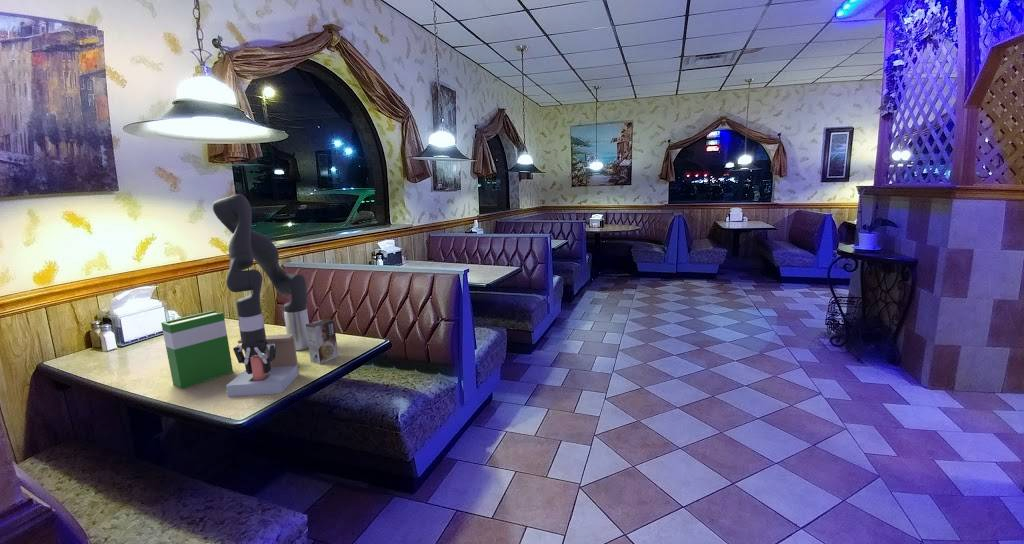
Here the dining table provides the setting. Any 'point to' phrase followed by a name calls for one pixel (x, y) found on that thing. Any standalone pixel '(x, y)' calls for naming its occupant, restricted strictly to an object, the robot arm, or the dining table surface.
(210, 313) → the hardback book
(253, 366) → the peg
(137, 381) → the dining table surface
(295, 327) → the robot arm
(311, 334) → the coffee box
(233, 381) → the socket
